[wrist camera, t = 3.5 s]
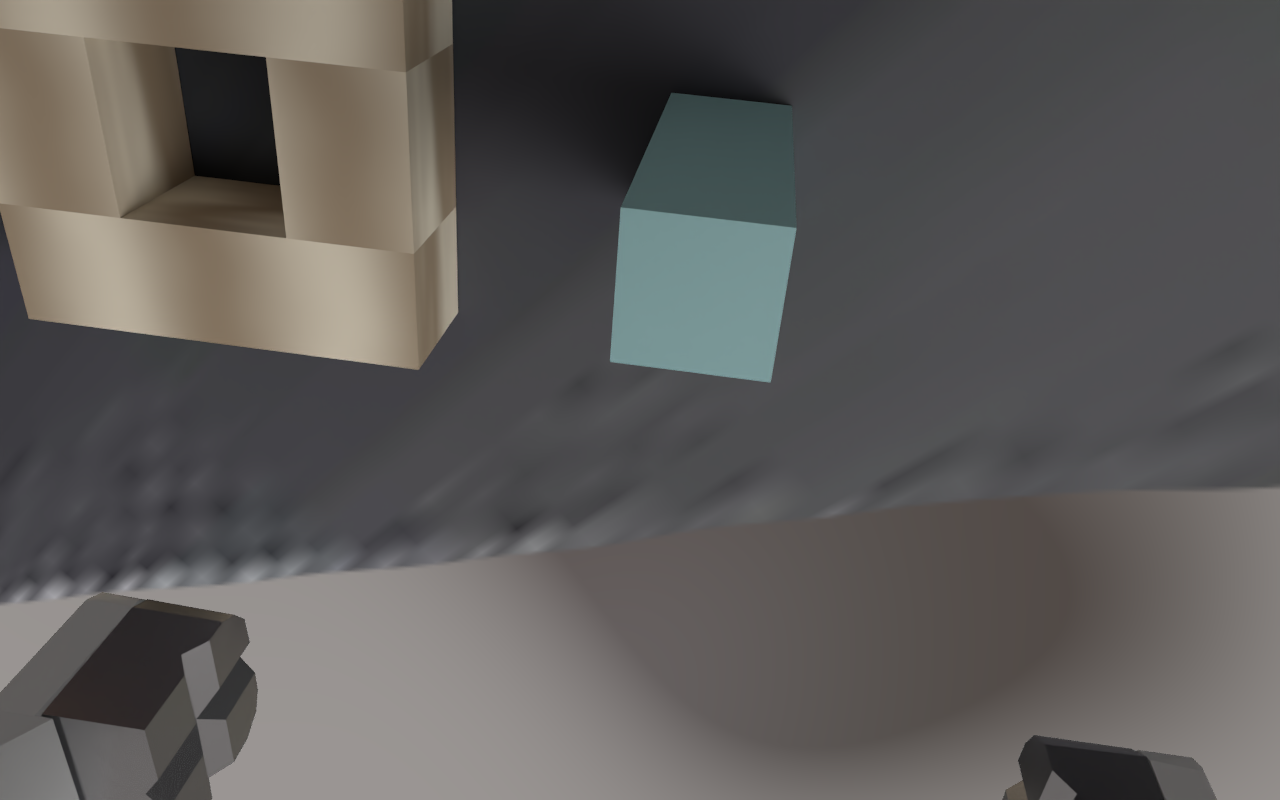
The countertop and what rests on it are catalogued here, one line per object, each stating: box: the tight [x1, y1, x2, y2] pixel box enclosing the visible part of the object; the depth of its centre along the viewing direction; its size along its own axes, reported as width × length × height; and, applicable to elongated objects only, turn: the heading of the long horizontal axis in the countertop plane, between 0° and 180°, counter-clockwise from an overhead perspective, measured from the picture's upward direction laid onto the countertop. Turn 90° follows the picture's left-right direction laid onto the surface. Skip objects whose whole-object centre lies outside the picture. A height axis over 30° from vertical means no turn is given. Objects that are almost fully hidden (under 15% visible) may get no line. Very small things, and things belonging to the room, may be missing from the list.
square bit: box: [610, 93, 796, 382], centre depth 24 cm, size 3×3×10 cm
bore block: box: [0, 0, 458, 370], centre depth 27 cm, size 12×12×4 cm
